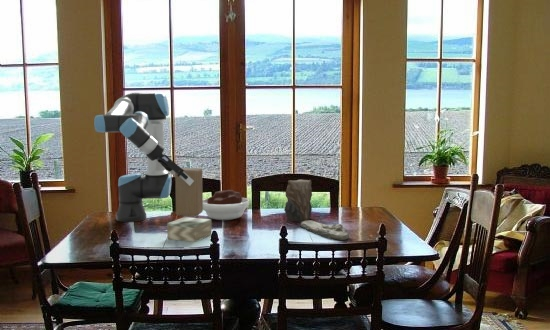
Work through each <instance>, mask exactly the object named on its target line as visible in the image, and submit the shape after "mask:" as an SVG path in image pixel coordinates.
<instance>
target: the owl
mask: <svg viewBox="0 0 550 330" xmlns="http://www.w3.org/2000/svg"><path fill="white" fill-rule="evenodd" d="M287 183H288V184H287V187H286V190H285V197H286V198H287V201H286V202H285V206H284V209H283V211H284V213H285V217H286V221H289V222H291V221H292V222H300V223H302V222H303V221H307V220H310V219H311V216H312V210H313V208H312V207H313V206H312V203H311V201H312V196H313V188H312V180H311V179H309V180H308V179H302V178H301V179H297V180H288V181H287Z"/></svg>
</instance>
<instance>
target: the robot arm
mask: <svg viewBox="0 0 550 330" xmlns="http://www.w3.org/2000/svg"><path fill="white" fill-rule="evenodd" d="M168 102H169V101H168V99H167V95H166V94H165V93H164V92H158V91H157V92H156V91H153V92H152V91H151V92H131V93H128V94H125V95H123V96H121V97H119V98H118V99H117V100H115V102H114V103H113V106H112V107H111V108H110V109H109V111H108V112H106V113H105V114H98V115H97V114H96V115H95V117H94V120H93V121H94V123H93V124H94V130H95V132H97V133H104V134H105V133H121V134H122V136H123V137H125V138H126V139H127V140H129V142H130V143H132V144H133V145H134V146H135V147H136V148H137V149H139V150H138V151H139V153H143V154H144V155H145V156H146V157H147V170H146V171H145V173H144V175H142V173H141V172H135V173H130V174H129V173H128V174H124V175H121V176H120V177H119V178H118V181H117V182H118V183H117V187H118V208H117V211H116V214H115V217H116V218H115V220H116V222H123V223H132V222H139V221H143V220H147V213H146V210H145V207H144V204H143V199H147V200H149V199H158V200H159V199H167V198H169V197H170V194H171V190H172V182H173V181H172V179H173V178H172V177H174V178H175V172H176V173H177V174H178V175H177V176H178V177H179V176H180V177H181V178H182V179H183V180H184V181H185V182H186V183H187V184H188V185H189V186H190V185H191V184H192V183H193V182H194V180H192V179H191V178H190V177H189V176H188V175H187V174H186V173H185V172H184V170H183V169H182V168H183V167H180V166H179V164H177V163H176V162H174V160H172V159H171V158H169V156H168V155H167V154H165V136H164V123H165V121H166V120H167V117H168V116H169V115H170V107H169V103H168ZM179 170H180V171H179ZM169 173H170V174H171V175H170V174H169Z"/></svg>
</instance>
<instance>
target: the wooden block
mask: <svg viewBox="0 0 550 330" xmlns="http://www.w3.org/2000/svg"><path fill="white" fill-rule="evenodd" d="M181 168H182V169H183V170H184V172H185V173H186V174H187V175H188V176H189V177H190V178H191V179H192V180H194V182H193V183H192V184H191V185H190V186H189V185H188V184H187V183H186V182H185V181H184V180H183V179H182V178H181V177H180V176H179V177H178V176H177V175H178V174H177V173H176V172H175V177H174V178H175V179H174V181H175V186H174V187H175V189H174V190H175V214H176V216H178V217H179V216H180V217H181V216H182V217H197V216H199V215H200V214H201V213H203V211H204V209H203V199H204V198H203V197H204V196H203V169H202V168H201V167H200V168H198V167H181ZM179 171H180V170H179Z"/></svg>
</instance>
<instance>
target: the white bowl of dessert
mask: <svg viewBox="0 0 550 330" xmlns="http://www.w3.org/2000/svg"><path fill="white" fill-rule="evenodd" d="M249 204H250V200H249V198H247V197H243V196H242V195H241V192H239V191H234V190H233V189H227V190H219V191H215V192H214V194H213V195H212V196H210V197H208V198H203V211H204V212H205V214H206V216H207V217H208V219H211V220H218V221H232V220H234V219H239V218H241V217H242V216H243V214H244V212H245V210H246V209H247V208H248V207H249Z"/></svg>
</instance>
